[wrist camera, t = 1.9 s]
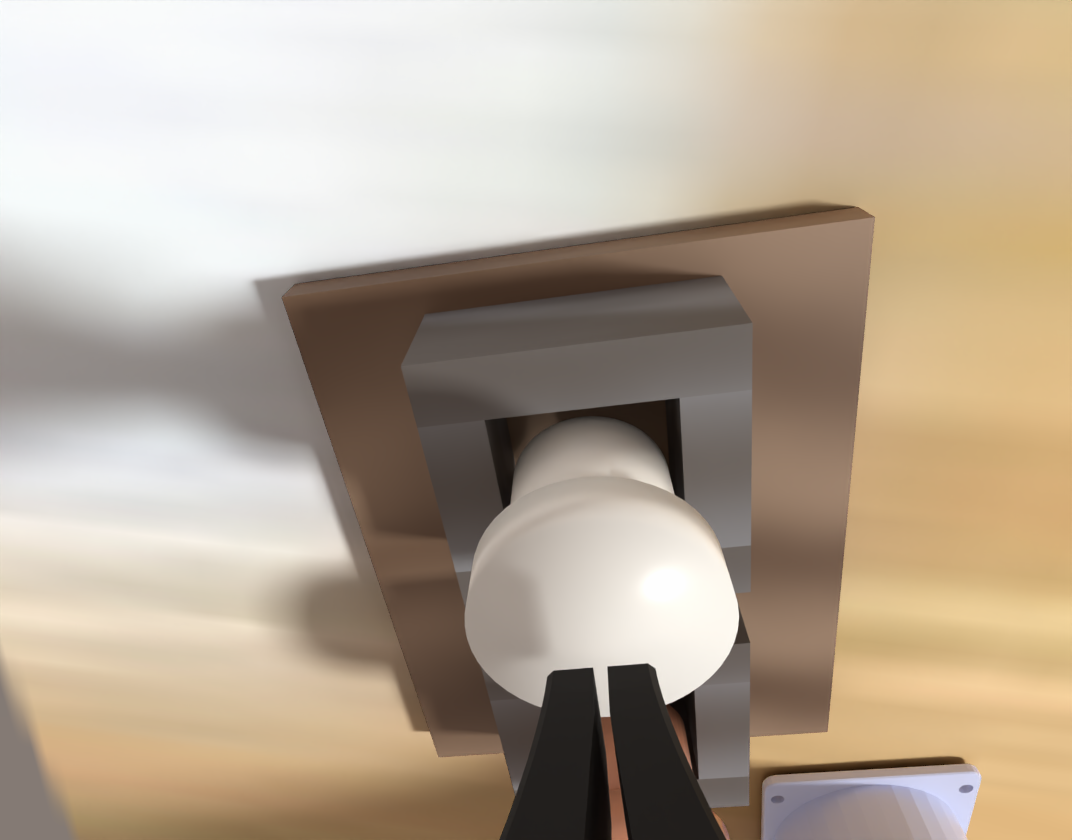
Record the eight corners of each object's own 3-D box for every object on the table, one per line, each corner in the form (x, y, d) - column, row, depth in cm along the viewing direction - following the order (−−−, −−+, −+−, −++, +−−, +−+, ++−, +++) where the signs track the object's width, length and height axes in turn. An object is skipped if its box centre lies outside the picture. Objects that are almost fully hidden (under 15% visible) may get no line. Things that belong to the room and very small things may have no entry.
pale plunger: (698, 554, 17) (739, 707, 13) (505, 571, 17) (490, 724, 14) (691, 379, 15) (738, 504, 11) (469, 405, 15) (438, 534, 11)
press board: (818, 707, 25) (859, 816, 22) (442, 733, 27) (425, 839, 23) (858, 207, 16) (937, 255, 13) (294, 283, 18) (230, 346, 14)
